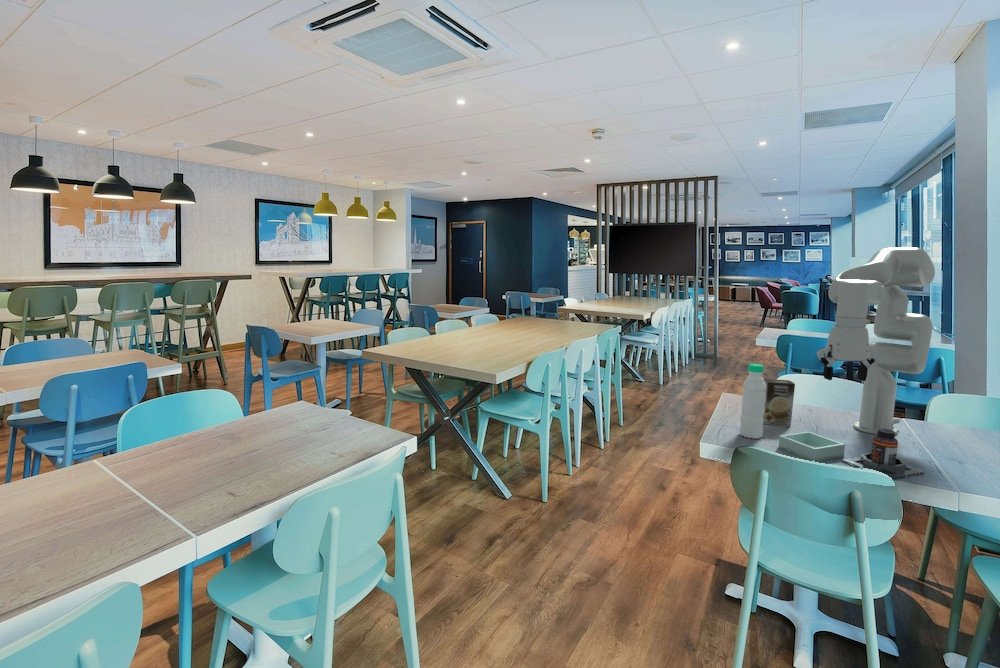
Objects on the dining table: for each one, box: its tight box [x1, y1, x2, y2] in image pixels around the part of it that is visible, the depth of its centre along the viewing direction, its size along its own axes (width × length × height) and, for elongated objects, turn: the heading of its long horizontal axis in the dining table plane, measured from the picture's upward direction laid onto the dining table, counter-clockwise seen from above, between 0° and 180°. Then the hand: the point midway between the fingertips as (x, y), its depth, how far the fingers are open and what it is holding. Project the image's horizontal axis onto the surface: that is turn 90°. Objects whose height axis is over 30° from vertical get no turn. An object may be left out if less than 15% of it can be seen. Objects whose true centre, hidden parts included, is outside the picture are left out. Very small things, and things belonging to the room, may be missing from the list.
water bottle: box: [739, 363, 766, 440], centre depth 176 cm, size 7×7×25 cm
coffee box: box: [763, 378, 796, 427], centre depth 191 cm, size 9×6×16 cm
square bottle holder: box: [841, 451, 925, 481], centre depth 151 cm, size 14×14×2 cm
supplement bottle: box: [870, 429, 899, 465], centre depth 150 cm, size 6×6×11 cm
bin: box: [778, 431, 846, 462], centre depth 163 cm, size 13×13×4 cm
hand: (844, 379), depth 155 cm, fingers open, 9 cm apart
